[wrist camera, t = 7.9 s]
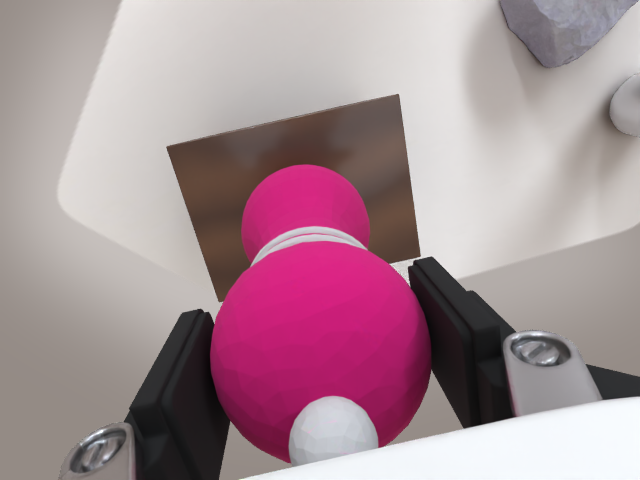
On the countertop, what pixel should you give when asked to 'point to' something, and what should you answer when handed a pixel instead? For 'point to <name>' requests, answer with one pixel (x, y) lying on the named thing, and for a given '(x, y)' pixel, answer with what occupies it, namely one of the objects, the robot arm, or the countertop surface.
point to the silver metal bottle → (627, 107)
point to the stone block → (562, 25)
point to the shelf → (299, 149)
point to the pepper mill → (317, 326)
